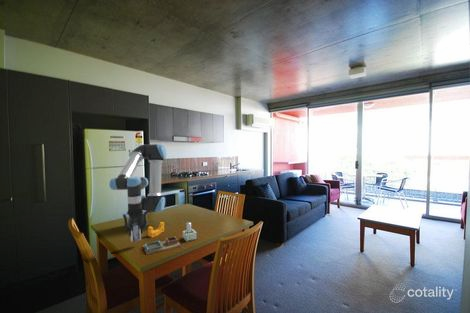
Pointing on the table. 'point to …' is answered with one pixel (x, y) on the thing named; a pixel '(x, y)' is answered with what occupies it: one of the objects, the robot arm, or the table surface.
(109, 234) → the table surface
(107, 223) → the table surface
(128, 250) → the table surface
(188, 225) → the pin
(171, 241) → the mount
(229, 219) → the table surface
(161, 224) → the pipe clamp
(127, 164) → the robot arm
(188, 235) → the tray
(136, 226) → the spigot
